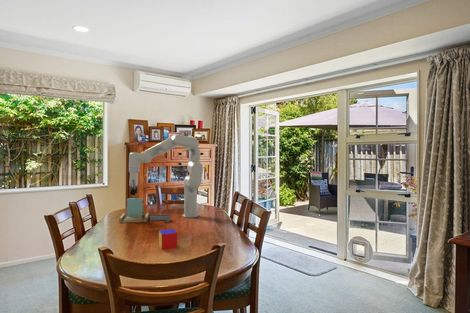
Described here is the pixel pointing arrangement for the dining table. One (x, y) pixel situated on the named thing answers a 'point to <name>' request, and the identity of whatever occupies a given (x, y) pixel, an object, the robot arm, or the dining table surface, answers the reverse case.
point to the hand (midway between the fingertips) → (133, 194)
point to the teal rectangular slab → (134, 207)
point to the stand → (160, 218)
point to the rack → (121, 219)
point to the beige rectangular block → (133, 219)
